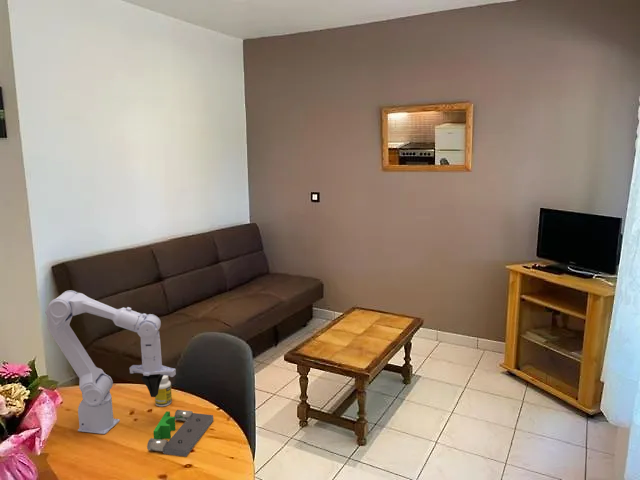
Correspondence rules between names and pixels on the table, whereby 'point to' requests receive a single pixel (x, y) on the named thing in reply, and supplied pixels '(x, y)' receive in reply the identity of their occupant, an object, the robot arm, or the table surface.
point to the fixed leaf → (183, 434)
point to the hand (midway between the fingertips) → (154, 395)
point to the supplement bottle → (164, 392)
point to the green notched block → (165, 427)
